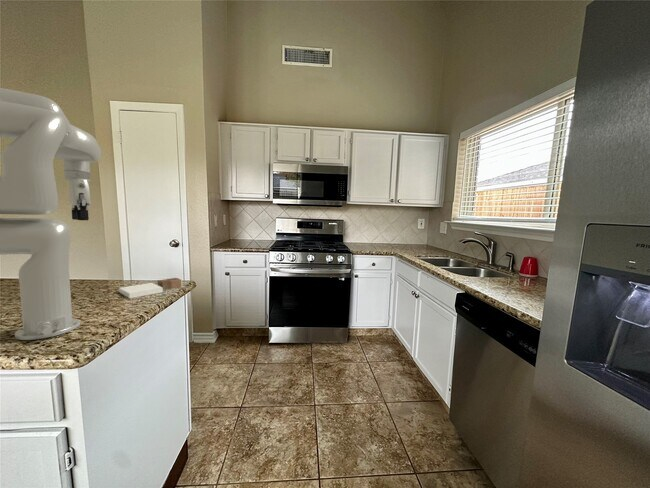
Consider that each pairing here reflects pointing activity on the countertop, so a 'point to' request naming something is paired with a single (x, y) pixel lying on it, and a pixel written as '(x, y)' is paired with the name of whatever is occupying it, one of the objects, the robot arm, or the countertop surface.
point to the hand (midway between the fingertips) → (80, 219)
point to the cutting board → (140, 290)
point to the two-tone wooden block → (170, 283)
